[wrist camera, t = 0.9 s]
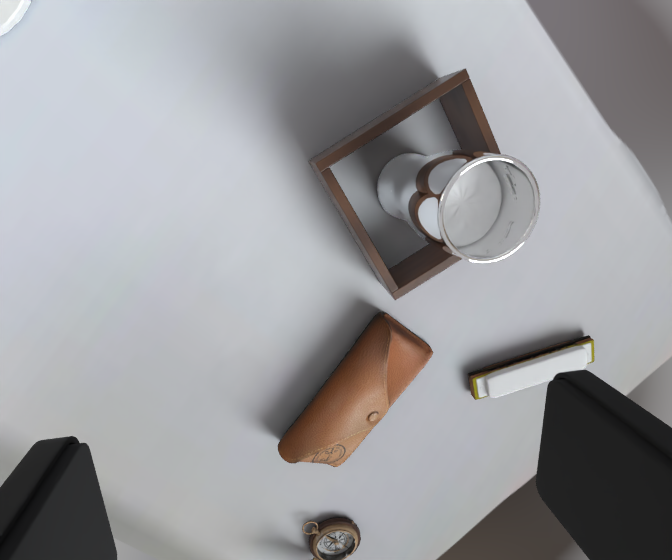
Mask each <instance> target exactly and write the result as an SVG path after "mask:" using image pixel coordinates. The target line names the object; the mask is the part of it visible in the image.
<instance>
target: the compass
mask: <svg viewBox="0 0 672 560" xmlns="http://www.w3.org/2000/svg"><path fill="white" fill-rule="evenodd" d="M308 523H315V524H316V525H317V527H316V528H315V527H313V528H312V533H307V532H305V531H304V526H305V525H306V524H308ZM302 530H303V532H304V533H305V534H311V535H310V539H309V545H310V551H311V552H312V554H313V556H315V558H313V560H343V559H345V558H347V557H348V556H350V555H351V554H352V553H353V552H354V551H355V550H356V549H357V548H358V546H359V544H360V540H361V537H360V531H359V528H358V527H357V525H356V524H355V523H354V522H353V521H351V520H348V519H346V518H332V519H329V520H326V521H324V522H322V523H321V524H319V525H318V524H317V523H316V522H313V521H310V522H307V523H305V524H304V525H303V528H302Z"/></svg>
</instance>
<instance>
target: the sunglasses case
mask: <svg viewBox="0 0 672 560" xmlns="http://www.w3.org/2000/svg"><path fill="white" fill-rule="evenodd" d="M432 354H433V351H432V349H431V347H430V346H429V345H428V344H427V343H426V342H424V341H423V340H422V339H420V338H419V337H418V336H417V335H415V334H414V333H412V332H411V331H410V330H408V329H407V328H406V327H404V326H403V325H402V324H400V323H399V322H398V321H397V320H395V319H394V318H392V317H391V316H390V315H388V314H387V313H384V312H379V313H378V314H377V315H376V316H375V317H374V318H373V319H372V321H371V322H370V323H369V325H368V326H367V327H366V328H365V330H364V331H363V333H362V334H361V336H360V337H359V338H358V340H357V341H356V343H355V344H354V345H353V347H352V348H351V349H350V351H349V352H348V353H347V354H346V356H345V357H344V359H343V360H342V361H341V363H340V364H339V366H338V367H337V368H336V369H335V371H334V372H333V373H332V375H331V376H330V377H329V378H328V380H327V381H326V382H325V384H324V385H323V386H322V388H321V389H320V390H319V392H318V393H317V394H316V395H315V397H314V398H313V399H312V401H311V402H310V403H309V405H308V406H307V407H306V408H305V410H304V411H303V412H302V413H301V415H300V416H299V417H298V419H297V420H296V421H295V422H294V424H293V425H292V426H291V427H290V428H289V430H288V431H287V432H286V434H285V435H284V436H283V438H282V439H281V440H280V442H279V444H278V451H279V454H280V456H281V457H282V458H283V459H284V460H285V461H287V462H289V463H297V462H312V463H324V464H329V465H331V466H333V467H338V466H339V465H341V464H342V463H343V462H345V460H346V459H347V458H348V457H349V456H350V455H351V454H352V453H353V452H354V450H355V449H356V448H357V447H358V446H359V444H360V443H361V442H362V441H363V440H364V439H365V437H366V436H367V435H368V433H369V432H370V431H371V430H372V429H373V427H374V426H375V425H376V424H377V423H378V422H379V421H380V420H381V419H382V418H383V417H384V415H385V414H386V413H387V411H388V409H389V408H390V407H391V405H392V404H393V403H394V402H395V401H396V399H397V398H398V397H399V396H400V395H401V394H402V392H403V391H404V390H405V389H406V388H407V386H408V385H409V384H410V383H411V382H412V381H413V379H414V378H415V377H416V376H417V374H418V373H419V372H420V371H421V370H422V369H423V368H424V366H425V365H426V364H427V362H428V361H429V359H430V358H431V356H432Z"/></svg>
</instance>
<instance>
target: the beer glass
mask: <svg viewBox="0 0 672 560" xmlns="http://www.w3.org/2000/svg"><path fill="white" fill-rule="evenodd" d="M377 194H378V198H379V201H380V203H381V205H382V207H383V208H384V210H385V211H386V212H387V213H389V214H390V215H392V216H393V217H395V218H398V219H402V220H406V221H407V222H408V223H409V225H410V226H411V227H412V229H413V230H414V231H415V232H416V233H417V234H418V235H419V236H420V237H421V238H423V239H424V240H425V241H427V242H428V243H430V244H431V245H433V246H435V247H437V248H439V249H441V250H443V251H445V252H447V253H450V254H452V255H455V256H458V257H460V258H462V259H464V260H467V261H470V262H474V263H490V262H495V261H498V260H501V259H503V258H505V257H507V256H509V255H511V254H512V253H513V252H515V251H516V250H517V249H518V248H519V247H521V246H522V245H523V243H524V242H525V241H526V240H527V238H528V237H529V236H530V234H531V232H532V231H533V229H534V227H535V224H536V222H537V219H538V215H539V210H540V192H539V188H538V184H537V181H536V179H535V177H534V175H533V174H532V172H531V171H530V169H529V168H528V167H527V166H526V165H525V164H523V163H522V162H521V161H519V160H517V159H516V158H513V157H511V156H507V155H502V154H494V153H490V152H484V151H479V150H468V149H462V150H448V151H444V152H440V153H436V154H433V155H431V156H428V157H425V156H423V155H421V154H417V153H405V154H401V155H399V156H396V157H395V158H393V159H392V160H390V161H389V162H388V163H387V164H386V165H385V167H384V168H383V170H382V171H381V173H380V176H379V179H378V183H377Z"/></svg>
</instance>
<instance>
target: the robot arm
mask: <svg viewBox="0 0 672 560" xmlns="http://www.w3.org/2000/svg"><path fill="white" fill-rule="evenodd" d="M30 3H31V0H0V36H1V35H3V34H5V33H7V32H8V31H10V30H11V29H12V28H13V27H14V26H15V25H16V24H17V23H18V22H19V21H20V20H21V19H22V17H23V15H24V14H25V12H26V11H27V9H28V8H29V6H30ZM536 486H537V489H538V493H539V494H540V497H541V498H542V500H543V501H544V502H545V504H546V505H547V506H548V508H549V509H550V510H551V511H552V512H553V514H554V515H555V516H556V518H557V519H558V520H559V521H560V523H561V524H562V525H563V526H564V528H565V529H566V530H567V532H568V533H569V534H570V535H571V537H572V538H573V539H574V540H575V541H576V543H577V544H578V545H579V547H580V548H581V549H582V550H583V552H584V553H585V554H586V556H587V557H588V558H589V559H590V560H672V428H671V427H670V426H668V425H667V424H665V423H664V422H662V421H661V420H659V419H658V418H657V417H655V416H654V415H652V414H651V413H649V412H648V411H646V410H645V409H643V408H642V407H641V406H639V405H638V404H636V403H635V402H633V401H632V400H630V399H629V398H627V397H626V396H624V395H623V394H622V393H620V392H619V391H617V390H616V389H614V388H613V387H611V386H610V385H608V384H607V383H606V382H604V381H603V380H601V379H600V378H598V377H597V376H595V375H594V374H592V373H591V372H589V371H587V370H576V371H568V372H560V373H558V374H556V375H555V377H554V378H553V380H552V381H550V382H549V384H548V387H547V395H546V403H545V411H544V419H543V427H542V435H541V444H540V452H539V460H538V468H537V476H536ZM0 560H117V551H116V547H115V543H114V539H113V535H112V532H111V528H110V524H109V520H108V517H107V513H106V509H105V505H104V501H103V498H102V494H101V490H100V486H99V482H98V479H97V475H96V471H95V467H94V464H93V460H92V456H91V452H90V449H89V446H88V445H87V444H86V443H79V441H78V439H77V438H76V437H73V436H70V437H63V438H55V439H47V440H41V441H38V442H36V443H35V444H34V445H33V446H32V448H31V449H30V450H29V451H28V453H27V454H26V455H25V456H24V458H23V459H22V460H21V462H20V463H19V464H18V465H17V467H16V468H15V469H14V471H13V472H12V473H11V474H10V476H9V477H8V478H7V479H6V481H5V482H4V483H3V485H2V486H1V487H0Z"/></svg>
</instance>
